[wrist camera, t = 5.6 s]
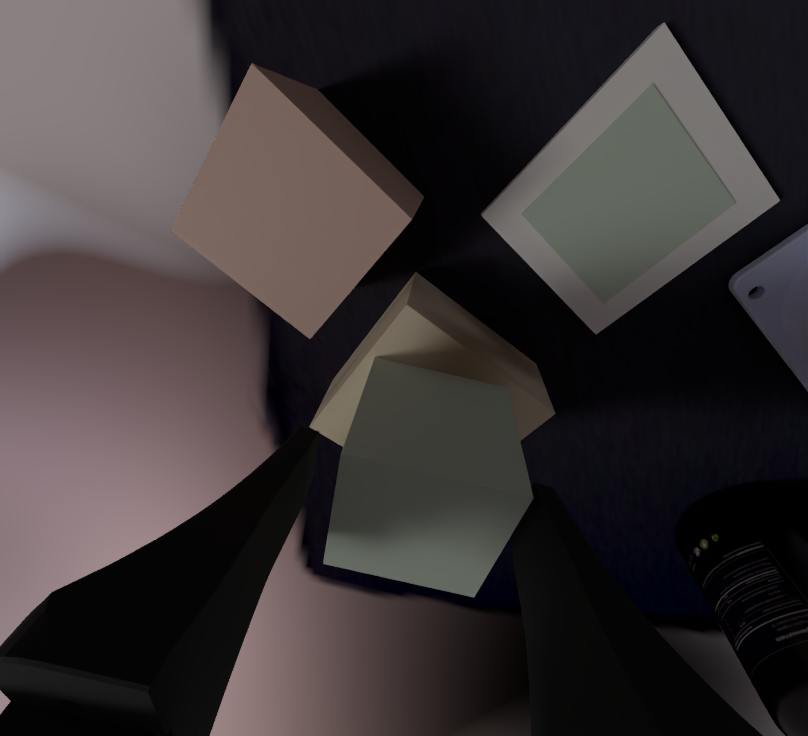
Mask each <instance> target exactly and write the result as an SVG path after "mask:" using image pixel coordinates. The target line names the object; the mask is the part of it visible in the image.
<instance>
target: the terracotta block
mask: <svg viewBox="0 0 808 736" xmlns="http://www.w3.org/2000/svg"><path fill="white" fill-rule="evenodd" d="M423 198H424V196H423V195H422V194H421V193H420V192H419V191H418V190H417V189H416V188H415V187H414V186H413V185H412V184H411V183H410V182H409V181H408V180H407V179H406V178H405V177H404V176H403V175H402V174H401V173H400V172H399V171H398V170H397V169H396V168H395V167H394V166H393V165H392V164H391V163H390V162H389V161H388V160H387V159H386V158H385V157H384V156H383V155H382V154H381V153H380V152H379V151H378V150H377V149H376V148H375V147H374V146H373V145H372V144H371V143H370V142H369V141H368V140H367V139H366V138H365V137H364V136H363V135H362V134H361V133H360V132H359V131H358V130H357V129H356V128H355V127H354V126H353V125H352V124H351V123H350V122H349V121H348V120H347V119H346V118H345V117H344V116H343V115H342V114H341V113H340V112H339V111H338V110H337V109H336V108H335V107H334V106H333V105H332V103H331V102H330V101H329V100H328V99H327V98H326V97H325V96H324V95H323V94H322V93H321V92H320V91H319V90H317V89H315V88H312V87H310V86H307V85H305V84H302V83H300V82H297V81H295V80H292V79H290V78H287V77H285V76H282V75H280V74H277V73H275V72H272V71H270V70H267V69H265V68H262V67H260V66H257V65H255V64H251V66H250V68H249V70H248V72H247V74H246V76H245V78H244V80H243V82H242V84H241V87H240V89H239V91H238V93H237V95H236V97H235V99H234V101H233V103H232V105H231V107H230V109H229V111H228V113H227V115H226V117H225V119H224V121H223V123H222V125H221V128H220V130H219V132H218V134H217V136H216V138H215V140H214V142H213V144H212V146H211V148H210V150H209V152H208V154H207V156H206V158H205V160H204V163H203V165H202V167H201V169H200V171H199V173H198V175H197V177H196V179H195V181H194V183H193V185H192V187H191V189H190V191H189V193H188V195H187V197H186V199H185V202H184V204H183V205H182V208H181V210H180V212H179V214H178V216H177V218H176V220H175V222H174V224H173V226H172V228H171V231H172V232H173V233H174V234H175V235H177V236H178V237H179V238H181V239H182V240H183V241H184V242H186V243H187V244H188V245H190V246H191V247H192V248H193V249H195V250H196V251H198V252H199V253H200V254H201V255H202V256H204V257H205V258H206V259H208V260H209V261H210V262H211V263H213V264H214V265H215V266H217V267H218V268H219V269H221V270H222V271H223V272H224V273H226V274H227V275H229V277H231V278H232V279H233V280H235V281H236V282H237V283H238V284H240V285H241V286H242V287H244V288H245V289H246V290H247V291H249V292H250V293H251V294H253V295H254V296H255V297H256V298H258V299H259V300H260V301H262V302H263V303H264V304H265V305H267V306H268V307H269V308H271V309H272V310H273V311H275V312H276V313H277V314H278V315H280V316H281V317H282V318H284V319H285V320H286V321H287V322H289V323H290V324H291V325H293V326H294V327H295V328H296V329H298V330H299V331H300V332H302V333H303V334H304V335H305V336H307V337H308V338H309V339H311V337H312V336H313V335H314V334H315V333H316V331H317V330H318V329H319V328H320V327H321V326H322V324H323V323H324V322H325V321H326V320H327V319H328V317H329V316H330V315H331V314H332V313H333V312H334V310H335V309H336V308H337V307H338V306H339V305H340V303H341V302H342V301H343V300H344V299H345V297H346V296H347V295H348V294H349V293H350V292H351V290H352V289H353V288H354V287H355V286H356V285H357V283H358V282H359V281H360V280H361V279H362V278H363V276H364V275H365V274H366V273H367V272H368V271H369V269H370V268H371V267H372V266H373V265H374V263H375V262H376V261H377V260H378V259H379V258H380V256H381V255H382V254H383V253H384V252H385V251H386V249H387V248H388V247H389V246H390V245H391V244H392V242H393V241H394V240H395V239H396V238H397V236H398V235H399V234H400V233H401V232H402V231H403V229H404V228H405V227H406V226H407V225H408V224H409V222H410V221H411V220H412V219H413V217H414V215H415V213H416V211H417V209H418V208H419V206H420V204H421V202H422V200H423Z"/></svg>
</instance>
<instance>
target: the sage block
mask: <svg viewBox="0 0 808 736" xmlns="http://www.w3.org/2000/svg"><path fill="white" fill-rule="evenodd" d="M532 500H533V494H532V489H531V485H530V481H529V477H528V473H527V468H526V464H525V460H524V456H523V451H522V447H521V443H520V439H519V435H518V430H517V426H516V422H515V418H514V413H513V409H512V405H511V401H510V397H509V392H508V388H506V387H502V386H498V385H494V384H489V383H485V382H481V381H477V380H472V379H468V378H464V377H459V376H455V375H451V374H447V373H442V372H438V371H434V370H430V369H425V368H421V367H417V366H412V365H408V364H404V363H400V362H395V361H391V360H387V359H383V358H378V357H375V358H374V361H373V364H372V367H371V369H370V372H369V375H368V378H367V381H366V384H365V387H364V389H363V392H362V395H361V398H360V401H359V404H358V407H357V410H356V412H355V415H354V418H353V421H352V424H351V427H350V430H349V432H348V435H347V438H346V441H345V444H344V447H343V450H342V452H341V457H340V463H339V469H338V475H337V482H336V488H335V494H334V500H333V506H332V512H331V519H330V525H329V531H328V537H327V543H326V549H325V556H324V562H323V564H327V565H331V566H336V567H340V568H345V569H349V570H354V571H358V572H363V573H367V574H372V575H376V576H381V577H385V578H390V579H394V580H399V581H403V582H408V583H412V584H417V585H421V586H426V587H430V588H434V589H439V590H443V591H448V592H452V593H457V594H461V595H466V596H470V597H474V596H475V595H476V593H477V591H478V590H479V588H480V586H481V585H482V583H483V581H484V580H485V578H486V576H487V575H488V573H489V571H490V570H491V568H492V566H493V565H494V563H495V561H496V560H497V558H498V556H499V555H500V553H501V551H502V550H503V548H504V546H505V545H506V543H507V541H508V540H509V538H510V536H511V535H512V533H513V531H514V530H515V528H516V526H517V525H518V523H519V521H520V520H521V518H522V516H523V515H524V513H525V511H526V510H527V508H528V506H529V505H530V503H531V501H532Z"/></svg>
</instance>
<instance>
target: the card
mask: <svg viewBox="0 0 808 736" xmlns="http://www.w3.org/2000/svg"><path fill="white" fill-rule="evenodd" d="M779 201H780V200H779V198H778V196H777V195H776V193H775V192H774V190H773V189H772V187H771V186H770V184H769V183H768V181H767V180H766V178H765V176H764V175H763V173H762V172H761V170H760V169H759V167H758V166H757V164H756V163H755V161H754V160H753V158H752V156H751V155H750V153H749V152H748V150H747V149H746V147H745V146H744V144H743V143H742V141H741V140H740V138H739V136H738V135H737V133H736V132H735V130H734V129H733V127H732V126H731V124H730V123H729V121H728V120H727V118H726V116H725V115H724V113H723V112H722V110H721V109H720V107H719V106H718V104H717V103H716V101H715V100H714V98H713V96H712V95H711V93H710V92H709V90H708V89H707V87H706V86H705V84H704V83H703V81H702V80H701V78H700V76H699V75H698V73H697V72H696V70H695V69H694V67H693V66H692V64H691V63H690V61H689V60H688V58H687V56H686V55H685V53H684V52H683V50H682V49H681V47H680V46H679V44H678V43H677V41H676V40H675V38H674V37H673V35H672V33H671V32H670V30H669V29H668V27H667V26H666V24H665V23H662V24H661V25H659V26H657V28H656V29H655V30H654V31H653V32H652V33H651V34H650V35H649V36H648V37H647V38H646V39H645V40H644V41H643V42H642V43H641V44H640V46H639V47H638V48H637V49H636V50H635V51H634V52H633V53H632V54H631V55H630V56H629V57H628V58H627V59H626V60H625V61H624V62H623V64H622V65H621V66H620V67H619V68H618V69H617V70H616V71H615V72H614V73H613V74H612V75H611V76H610V77H609V78H608V79H607V80H606V82H605V83H604V84H603V85H602V86H601V87H600V88H599V89H598V90H597V91H596V92H595V93H594V94H593V95H592V96H591V97H590V98H589V100H588V101H587V102H586V103H585V104H584V105H583V106H582V107H581V108H580V109H579V110H578V111H577V112H576V113H575V114H574V115H573V116H572V118H571V119H570V120H569V121H568V122H567V123H566V124H565V125H564V126H563V127H562V128H561V129H560V130H559V131H558V132H557V133H556V134H555V136H554V137H553V138H552V139H551V140H550V141H549V142H548V143H547V144H546V145H545V146H544V147H543V148H542V149H541V150H540V151H539V152H538V154H537V155H536V156H535V157H534V158H533V159H532V160H531V161H530V162H529V163H528V164H527V165H526V166H525V167H524V168H523V169H522V170H521V172H520V173H519V174H518V175H517V176H516V177H515V178H514V179H513V180H512V181H511V182H510V183H509V184H508V185H507V186H506V187H505V188H504V190H503V191H502V192H501V193H500V194H499V195H498V196H497V197H496V198H495V199H494V200H493V201H492V202H491V203H490V204H489V205H488V206H487V208H486V209H485V210H484V211H483V212H482V213H481V216H482V217H483V218H484V219H485V220H486V221H487V222H488V223H489V224H490V225H491V226H492V227H493V228H494V229H495V230H496V231H497V232H498V233H499V234H500V236H501V237H502V238H503V239H504V240H505V241H506V242H507V243H508V244H509V245H510V246H511V247H512V248H513V249H514V250H515V251H516V252H517V253H518V254H519V255H520V256H521V257H522V258H523V259H524V260H525V261H526V263H527V264H528V265H529V266H530V267H531V268H532V269H533V270H534V271H535V272H536V273H537V274H538V275H539V276H540V277H541V278H542V279H543V280H544V281H545V282H546V283H547V284H548V285H549V286H550V287H551V289H552V290H553V291H554V292H555V293H556V294H557V295H558V296H559V297H560V298H561V299H562V300H563V301H564V302H565V303H566V304H567V305H568V306H569V307H570V308H571V309H572V310H573V311H574V312H575V313H576V315H577V316H578V317H579V318H580V319H581V320H582V321H583V322H584V323H585V324H586V325H587V326H588V327H589V328H590V329H591V330H592V331H593V332H594V333H595V334H598V333H599V332H600V331H602V330H603V329H604V328H606V327H607V326H609V325H610V324H611V323H613V322H614V321H615V320H617V319H618V318H620V317H621V316H622V315H624V314H625V313H626V312H628V311H629V310H631V309H632V308H633V307H635V306H636V305H637V304H639V303H640V302H641V301H643V300H644V299H646V298H647V297H648V296H650V295H651V294H652V293H654V292H655V291H657V290H658V289H659V288H661V287H662V286H663V285H665V284H666V283H668V282H669V281H670V280H672V279H673V278H674V277H676V276H677V275H679V274H680V273H681V272H683V271H684V270H685V269H687V268H688V267H690V266H691V265H692V264H694V263H695V262H696V261H698V260H699V259H701V258H702V257H703V256H705V255H706V254H707V253H709V252H710V251H712V250H713V249H714V248H716V247H717V246H718V245H720V244H721V243H723V242H724V241H725V240H727V239H728V238H729V237H731V236H732V235H734V234H735V233H736V232H738V231H739V230H740V229H742V228H743V227H745V226H746V225H747V224H749V223H750V222H751V221H753V220H754V219H756V218H757V217H758V216H760V215H761V214H762V213H764V212H765V211H767V210H768V209H769V208H771V207H772V206H773V205H775V204H776V203H778V202H779Z"/></svg>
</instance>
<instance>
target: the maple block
mask: <svg viewBox="0 0 808 736" xmlns="http://www.w3.org/2000/svg"><path fill="white" fill-rule="evenodd" d="M375 357H378V358H383V359H387V360H391V361H395V362H400V363H404V364H408V365H412V366H417V367H421V368H425V369H430V370H434V371H438V372H442V373H447V374H451V375H455V376H459V377H464V378H468V379H472V380H477V381H481V382H485V383H489V384H494V385H498V386H502V387H506V388H508V392H509V397H510V401H511V405H512V409H513V413H514V418H515V422H516V426H517V430H518V435H519V439H520V441H521V440H522V439H523V438H525V437H526V436H527V435H528V434H530V433H531V432H532V431H534V430H535V429H536V428H538V427H539V426H540V425H541V424H543V423H544V422H545V421H547V420H548V419H549V418H550V417H552V416H553V415H554V414H555V411H554V409H553V406H552V403H551V401H550V398H549V396H548V393H547V390H546V388H545V385H544V383H543V380H542V377H541V375H540V372H539V370H538V367H537V364H536V363H534V362H533V361H532V360H531V359H529V358H528V357H527V356H525V355H524V354H523V353H521V352H520V351H519V350H517V349H516V348H515V347H514V346H512V345H511V344H510V343H508V342H507V341H506V340H504V339H503V338H502V337H500V336H499V335H498V334H497V333H495V332H494V331H493V330H491V329H490V328H489V327H487V326H486V325H485V324H483V323H482V322H481V321H480V320H478V319H477V318H476V317H474V316H473V315H472V314H470V313H469V312H468V311H466V310H465V309H464V308H462V307H461V306H460V305H459V304H457V303H456V302H455V301H453V300H452V299H451V298H449V297H448V296H447V295H445V294H444V293H443V292H442V291H440V290H439V289H438V288H436V287H435V286H434V285H432V284H431V283H430V282H428V281H427V280H426V279H425V278H423V277H422V276H421V275H419V274H418V273H417V272H415V274H414V275H413V276H412V278H411V279H410V280H409V281H408V283H407V284H406V285H405V287H404V288H403V289H402V291H401V292H400V293H399V294H398V296H397V297H396V298H395V300H394V301H393V302H392V304H391V305H390V306H389V308H388V309H387V310H386V311H385V313H384V314H383V315H382V317H381V318H380V319H379V321H378V322H377V323H376V324H375V326H374V327H373V328H372V330H371V331H370V332H369V334H368V335H367V336H366V337H365V339H364V340H363V341H362V343H361V344H360V345H359V347H358V348H357V349H356V350H355V352H354V353H353V354H352V356H351V357H350V358H349V360H348V361H347V362H346V363H345V365H344V366H343V367H342V369H341V370H340V371H339V373H338V374H337V375H336V377H335V378H334V379H333V381H332V383H331V385H330V387H329V389H328V391H327V393H326V395H325V397H324V399H323V401H322V403H321V405H320V407H319V409H318V411H317V413H316V415H315V417H314V419H313V421H312V423H311V425H310V427H311V428H312V429H314V430H316V431H319V433H321V434H322V435H324V436H326V437H327V438H329V439H331V440H332V441H334V442H336V443H337V444H339V445H341V446H342V447H344V444H345V441H346V438H347V435H348V432H349V430H350V427H351V424H352V421H353V418H354V415H355V412H356V410H357V407H358V404H359V401H360V398H361V395H362V392H363V389H364V387H365V384H366V381H367V378H368V375H369V372H370V369H371V367H372V364H373V361H374V358H375Z"/></svg>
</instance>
